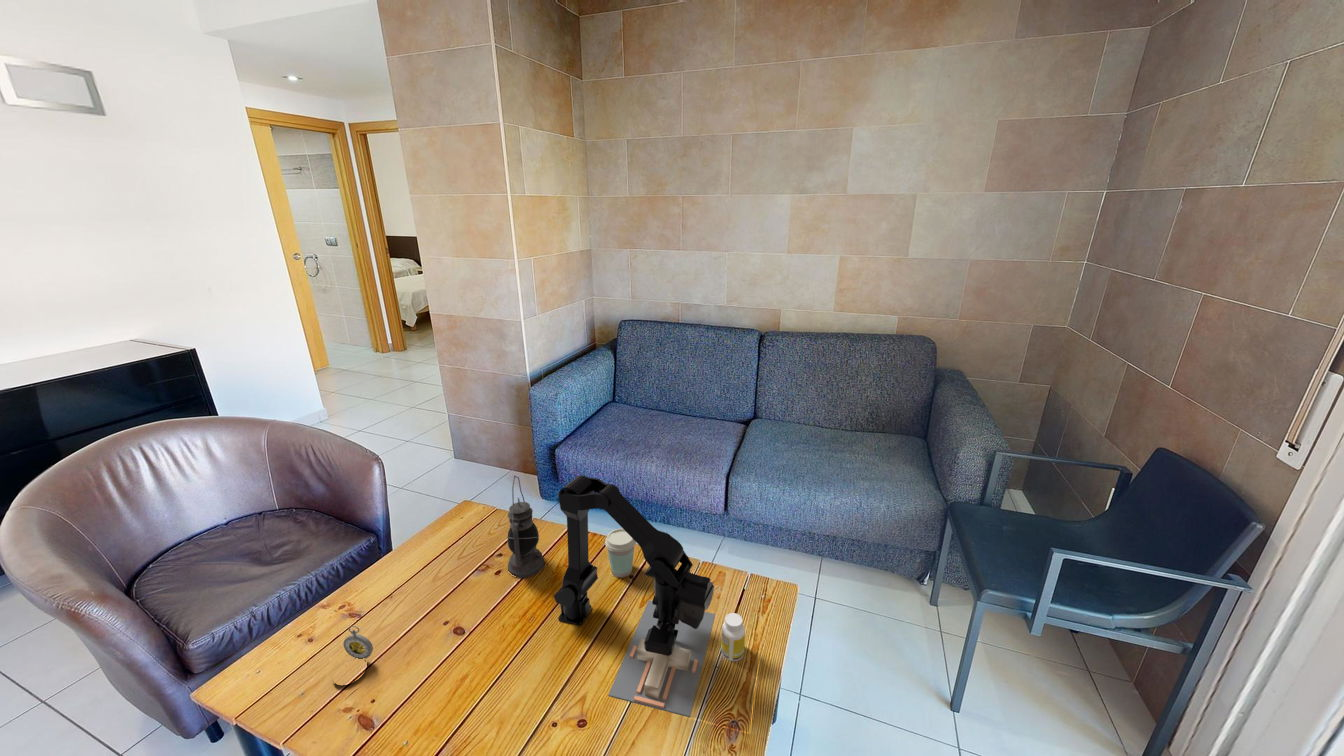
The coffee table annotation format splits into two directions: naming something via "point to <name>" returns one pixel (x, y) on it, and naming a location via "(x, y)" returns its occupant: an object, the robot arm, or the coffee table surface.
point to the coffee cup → (620, 552)
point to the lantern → (523, 540)
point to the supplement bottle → (733, 637)
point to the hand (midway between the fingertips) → (668, 641)
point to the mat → (677, 682)
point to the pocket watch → (357, 645)
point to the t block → (661, 666)
